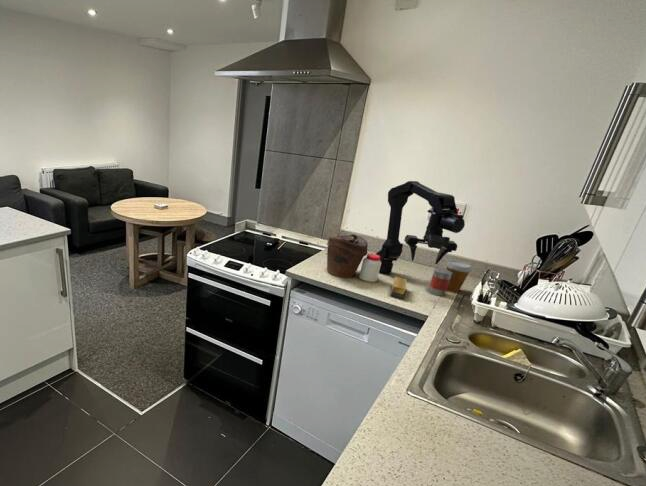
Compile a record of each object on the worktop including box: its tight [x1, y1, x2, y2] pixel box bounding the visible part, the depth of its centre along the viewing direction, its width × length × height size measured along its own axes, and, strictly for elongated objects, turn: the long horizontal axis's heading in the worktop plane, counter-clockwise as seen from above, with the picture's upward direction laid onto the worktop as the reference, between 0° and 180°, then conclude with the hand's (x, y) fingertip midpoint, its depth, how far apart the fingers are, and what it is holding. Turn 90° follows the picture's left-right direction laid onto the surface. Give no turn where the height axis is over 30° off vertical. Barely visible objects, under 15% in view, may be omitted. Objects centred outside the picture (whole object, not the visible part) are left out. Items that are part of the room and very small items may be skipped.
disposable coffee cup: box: [445, 260, 472, 293], centre depth 171 cm, size 10×10×12 cm
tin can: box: [427, 267, 452, 297], centre depth 167 cm, size 7×7×10 cm
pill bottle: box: [358, 253, 381, 283], centre depth 176 cm, size 8×8×11 cm
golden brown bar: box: [390, 276, 407, 300], centre depth 165 cm, size 4×13×4 cm, turn 153°
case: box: [325, 234, 368, 278], centre depth 179 cm, size 18×20×18 cm
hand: (424, 262), depth 164 cm, fingers open, 9 cm apart
